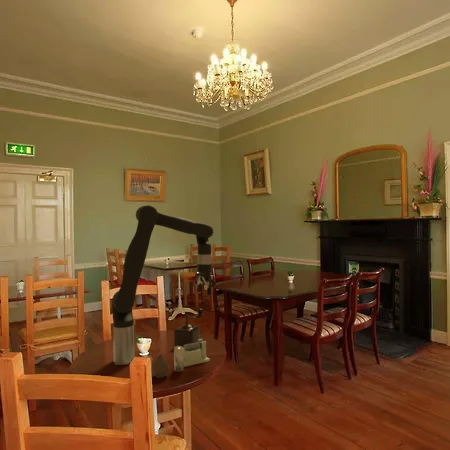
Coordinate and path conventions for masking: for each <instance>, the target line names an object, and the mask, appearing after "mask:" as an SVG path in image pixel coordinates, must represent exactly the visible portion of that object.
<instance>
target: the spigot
mask: <svg viewBox="0 0 450 450" xmlns="http://www.w3.org/2000/svg"><path fill="white" fill-rule="evenodd" d="M173 361H174V363H173V365H174V366H173V367H174V368H173V369H174V372H176V373H180V372H183V371H184V367H183V347H182V346H176V347H173Z"/></svg>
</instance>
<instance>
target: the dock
mask: <svg viewBox="0 0 450 450" xmlns="http://www.w3.org/2000/svg"><path fill="white" fill-rule="evenodd" d="M201 341H203V342H201ZM198 342H201V347H199V348H194V349H189V350H184V348H183V368H186V367H189V366H194V365H198V364H204V363H207V362H210V360H211V359H210V358H209V357H207V341H206V340H203V338H200V339H198Z"/></svg>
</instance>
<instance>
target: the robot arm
mask: <svg viewBox="0 0 450 450" xmlns="http://www.w3.org/2000/svg"><path fill="white" fill-rule="evenodd" d="M135 218H136V220H137V226H136V230H135V233H134V236H133V237H132V239H131V242H130V243H129V245H128V247H127V249H126V254H125V258H124V262H123V269H122V280H121V285H120V287H119V290H118V291H116V292H115V293H114V294H113V295H112V299H111V307H112V308H111V309H112V321H113V323H112V324H113V325H112V326H113V341H112V356H113V360H112V361H113V363H114V365H115V366H125V365H129V363H130V362H131V360H132V359H133V358H134V359H135V322H134V316H133V307H134V305H135V301H136V296H137V290H138V289H137V288H138V284H139V281H140V278H141V275H142V272H143V269H144V266H145V261H146V259H147V254H148V250H149V247H150V242H151V236H152V234H153V230H154V228H155V226H159V227H164V228H168V229H170V230H173V231H177V232H180V233H184V234H187V235H195V238H196V244H197V256H196V257H197V258H196V259H197V261H196V264H197V265H196V266H197V267H196V269H197V270H196V271H197V272H194V273H195V274H194V276H195V277H194V283H195V285H197V293H198V294H200V293H201V294H202V292H203V283H204V285H206V295H207V296H211V295H212V288H215V276H214V274H213V275H211V273H212V271H213V270H212V269H213V267H212V264H213V263H212V260H213V257H212V244H211V243H210V242H209V239H210V238H212V236H213V235H214V228H213V227H212V226H211V225H209V224H206V223H202V222H196V221H193V220H191V219H187V218H183V217H180V216H176V215H175V216H174V215H169V214H165V213H162V212H160V211H158V209H157V208H156V207H154V205H150V204H149V205H148V204H146V205H142V206H140V207H138V208H137V209H136V212H135ZM130 364H131V363H130Z"/></svg>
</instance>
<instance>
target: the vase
mask: <svg viewBox="0 0 450 450" xmlns="http://www.w3.org/2000/svg"><path fill="white" fill-rule="evenodd" d="M169 368H170V367H169V362H168V361H167V359H166V358H165V356H164V355H162V354H158V355H157V356H156V359H155V360H154V361H153V363H152V368H151V370H152V375H153V376H155V378H157V379H164V378H165V377H166V376H167V375H168V373H169Z"/></svg>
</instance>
